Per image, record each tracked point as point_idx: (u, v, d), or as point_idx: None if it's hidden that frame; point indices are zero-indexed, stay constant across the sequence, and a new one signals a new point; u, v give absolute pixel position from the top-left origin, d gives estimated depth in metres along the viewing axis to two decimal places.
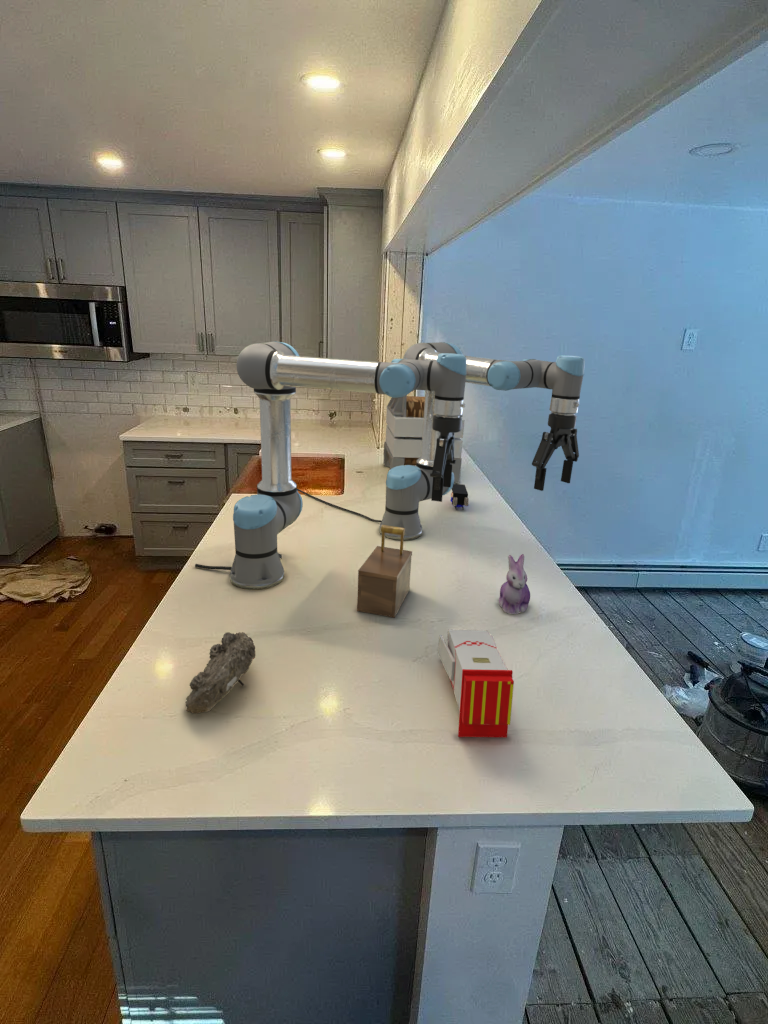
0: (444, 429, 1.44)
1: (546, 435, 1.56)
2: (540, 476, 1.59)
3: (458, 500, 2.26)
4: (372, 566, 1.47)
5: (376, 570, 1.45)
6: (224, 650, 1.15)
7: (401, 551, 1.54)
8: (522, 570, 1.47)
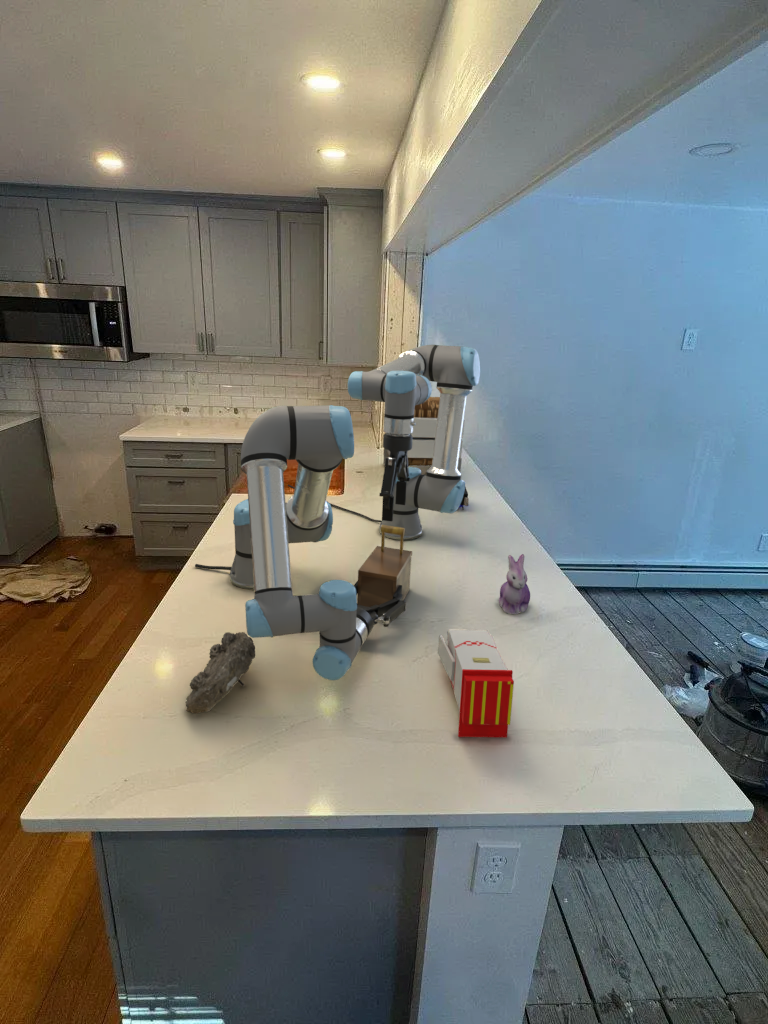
0: None
1: (390, 461, 1.40)
2: (389, 506, 1.43)
3: None
4: (372, 566, 1.47)
5: (376, 570, 1.45)
6: (224, 650, 1.15)
7: (401, 551, 1.54)
8: (522, 570, 1.47)
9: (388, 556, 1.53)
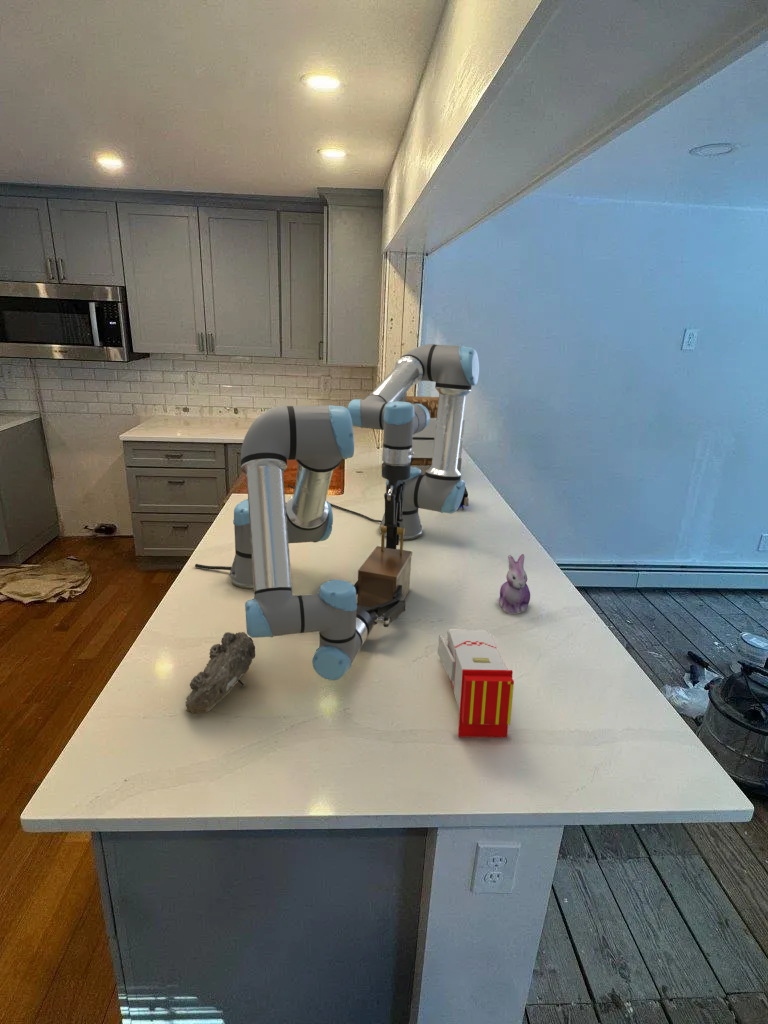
0: None
1: (389, 498, 1.44)
2: (393, 535, 1.51)
3: None
4: (371, 566, 1.47)
5: (375, 570, 1.45)
6: (224, 650, 1.15)
7: (401, 551, 1.54)
8: (522, 570, 1.47)
9: (388, 556, 1.53)
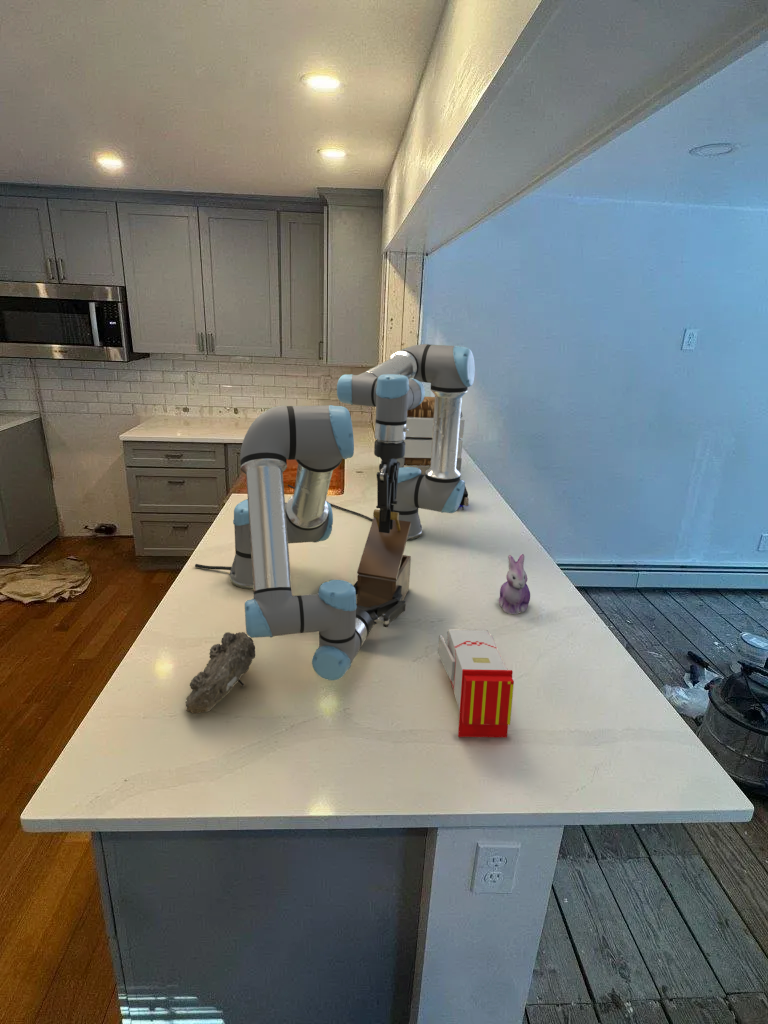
0: None
1: (381, 477, 1.34)
2: (386, 518, 1.42)
3: None
4: (370, 562, 1.45)
5: (374, 568, 1.43)
6: (224, 650, 1.15)
7: (398, 529, 1.48)
8: (522, 570, 1.47)
9: (386, 537, 1.48)
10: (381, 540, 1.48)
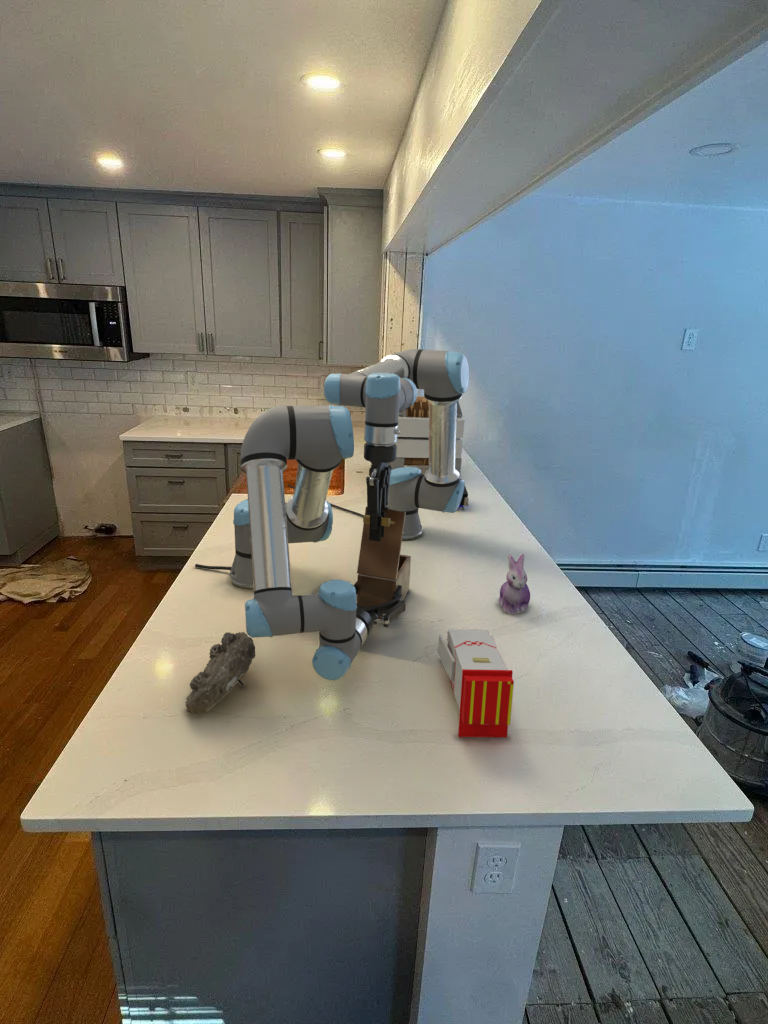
0: None
1: (371, 482, 1.26)
2: (377, 525, 1.34)
3: None
4: (368, 561, 1.43)
5: (373, 568, 1.43)
6: (224, 650, 1.15)
7: (393, 523, 1.41)
8: (522, 570, 1.47)
9: None
10: None
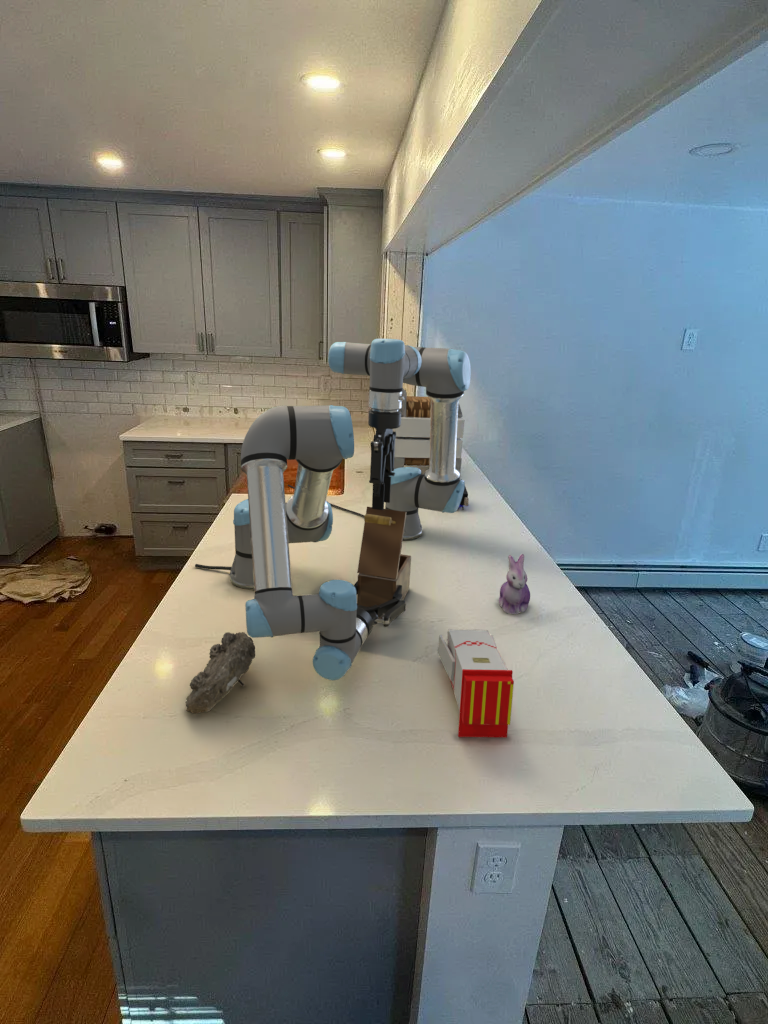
0: None
1: (376, 446, 1.26)
2: (380, 493, 1.32)
3: None
4: (369, 561, 1.43)
5: (374, 568, 1.43)
6: (224, 650, 1.15)
7: None
8: (522, 570, 1.47)
9: (382, 532, 1.43)
10: (377, 535, 1.43)
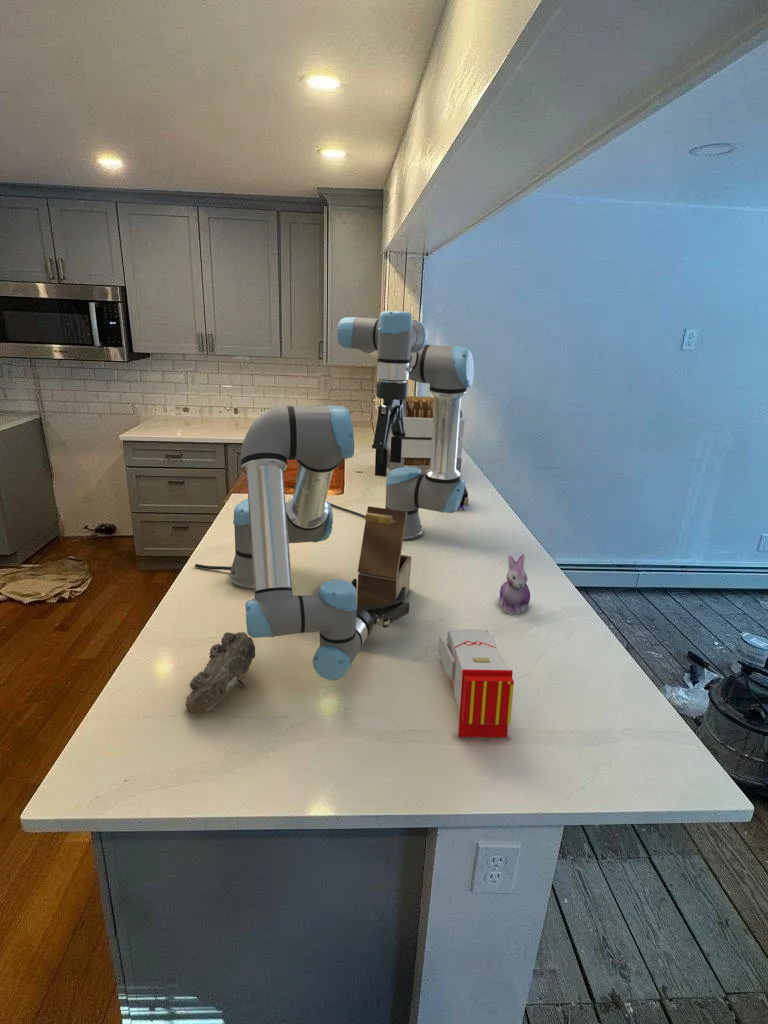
0: None
1: (383, 409, 1.28)
2: (383, 459, 1.31)
3: None
4: (369, 560, 1.43)
5: (374, 568, 1.43)
6: (224, 650, 1.15)
7: (394, 522, 1.42)
8: (522, 570, 1.47)
9: (382, 531, 1.43)
10: (378, 535, 1.44)
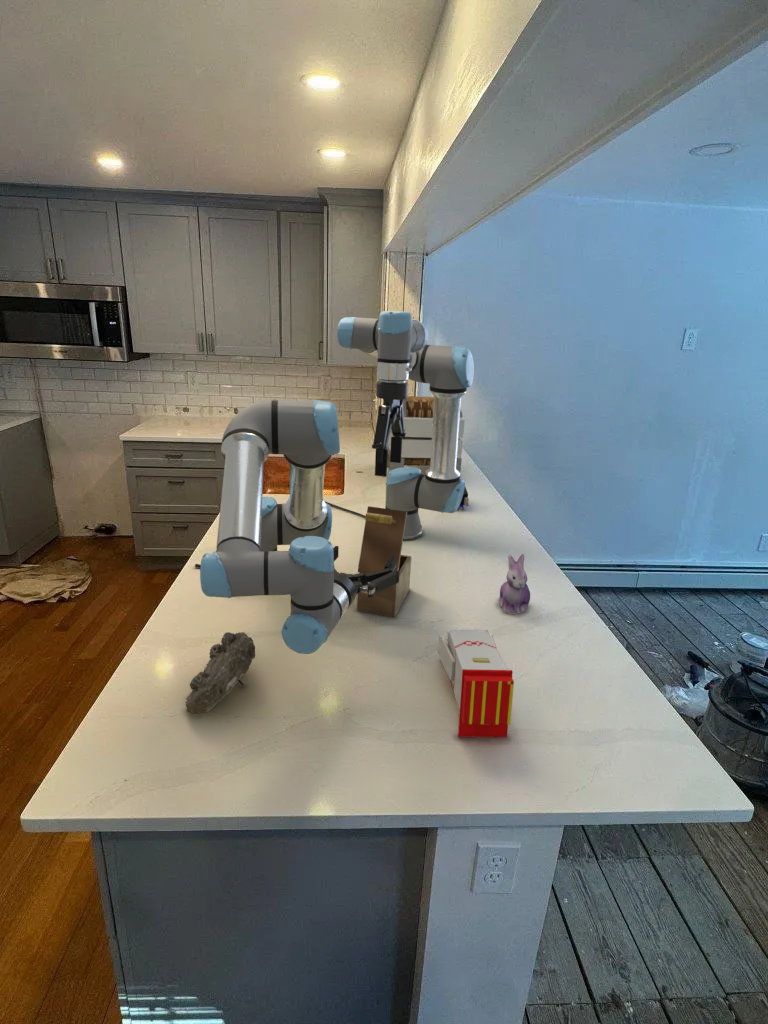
0: None
1: (383, 409, 1.28)
2: (383, 459, 1.31)
3: None
4: (369, 560, 1.43)
5: (374, 568, 1.43)
6: (224, 650, 1.15)
7: (394, 522, 1.42)
8: (522, 570, 1.47)
9: (382, 531, 1.43)
10: (378, 535, 1.44)
